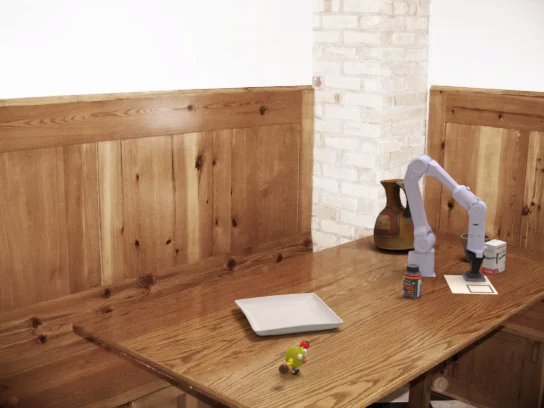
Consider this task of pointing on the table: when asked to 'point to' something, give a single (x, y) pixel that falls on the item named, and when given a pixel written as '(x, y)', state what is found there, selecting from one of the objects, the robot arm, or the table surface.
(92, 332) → the table surface
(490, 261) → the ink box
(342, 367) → the table surface
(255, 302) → the square plate
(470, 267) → the stamp
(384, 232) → the ceramic pitcher
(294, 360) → the toy figure
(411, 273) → the supplement bottle
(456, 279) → the board
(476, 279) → the ink pad
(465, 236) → the flower pot
